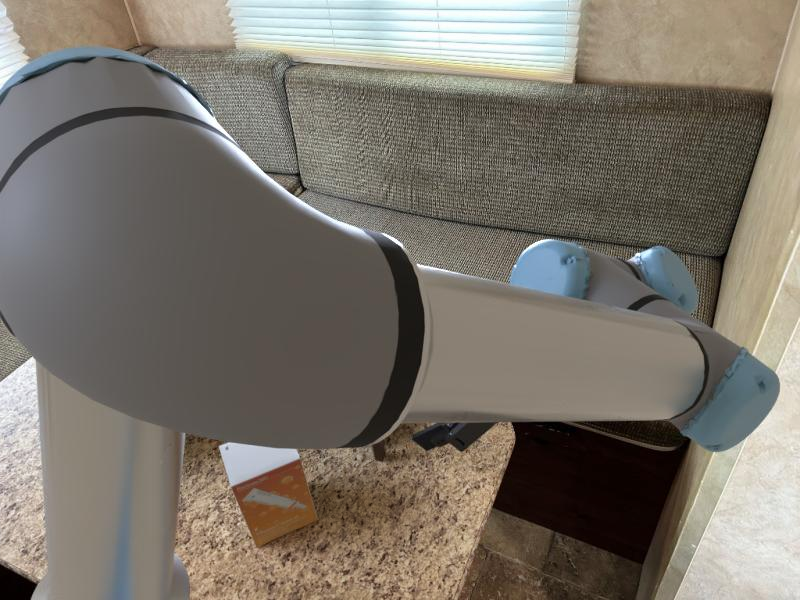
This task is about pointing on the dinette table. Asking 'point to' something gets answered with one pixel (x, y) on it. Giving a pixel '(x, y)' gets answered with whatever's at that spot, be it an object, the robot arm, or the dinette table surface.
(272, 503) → the small box
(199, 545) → the dinette table surface
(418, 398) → the robot arm
